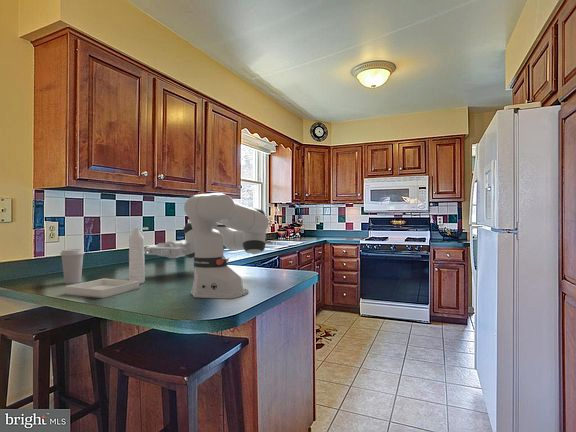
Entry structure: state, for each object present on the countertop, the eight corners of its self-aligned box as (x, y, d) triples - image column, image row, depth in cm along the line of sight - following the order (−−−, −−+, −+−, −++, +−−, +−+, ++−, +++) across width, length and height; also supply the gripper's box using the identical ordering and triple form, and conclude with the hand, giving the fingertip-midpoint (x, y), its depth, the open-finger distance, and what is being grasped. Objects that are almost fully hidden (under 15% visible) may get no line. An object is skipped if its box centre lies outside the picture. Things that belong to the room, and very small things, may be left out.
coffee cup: (69, 285, 154) (68, 251, 154) (55, 283, 158) (55, 250, 158) (89, 281, 163) (89, 249, 163) (76, 279, 167) (75, 248, 167)
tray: (139, 288, 145) (139, 281, 145) (102, 298, 129) (101, 290, 129) (104, 285, 153) (104, 278, 153) (64, 294, 136) (64, 286, 136)
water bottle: (133, 285, 153) (133, 228, 153) (126, 283, 157) (125, 227, 157) (152, 281, 160) (151, 227, 160) (144, 280, 164) (144, 227, 164)
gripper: (189, 256, 176) (170, 259, 163) (157, 255, 184) (137, 258, 171) (189, 243, 176) (170, 246, 163) (157, 243, 183) (136, 245, 171)
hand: (153, 252), depth 167 cm, fingers open, 8 cm apart
